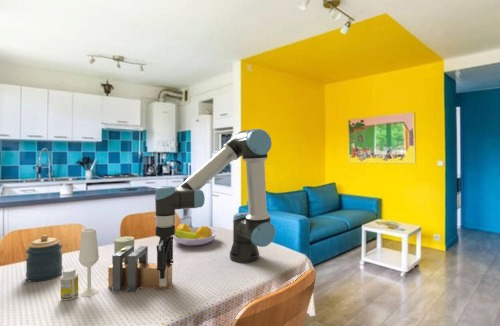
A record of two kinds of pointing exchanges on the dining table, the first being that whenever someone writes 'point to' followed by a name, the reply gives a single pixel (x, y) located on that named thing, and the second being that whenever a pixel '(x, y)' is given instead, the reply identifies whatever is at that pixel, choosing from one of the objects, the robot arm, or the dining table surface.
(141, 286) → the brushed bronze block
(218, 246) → the dining table surface
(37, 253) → the canister
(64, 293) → the supplement bottle
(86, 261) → the champagne flute
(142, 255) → the collar
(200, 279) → the dining table surface
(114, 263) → the collar
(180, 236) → the fruit bowl
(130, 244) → the can
